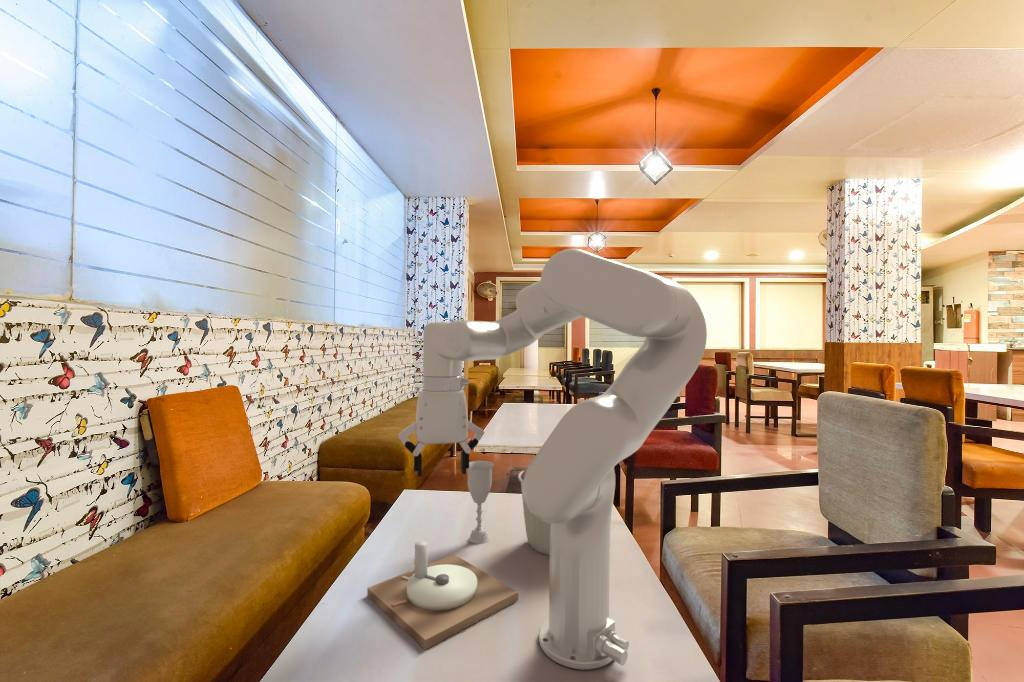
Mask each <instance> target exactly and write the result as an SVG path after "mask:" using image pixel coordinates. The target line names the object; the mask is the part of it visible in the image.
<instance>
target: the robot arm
mask: <svg viewBox="0 0 1024 682" xmlns="http://www.w3.org/2000/svg"><path fill="white" fill-rule="evenodd" d="M515 307H516V310H514V311H513V312H511V313H509V314H508V315H505V316H504V317H501V318H499V319H496V320H495V321H494V320H493V321H483V320H466V319H465V320H461V319H460V320H455V321H451V322H443V321H442V322H428V323H426V324H425V326H424V328H423V336H422V337H423V341H422V343H423V344H422V345H423V347H422V348H423V349H422V350H423V351H422V353H423V354H422V355H423V358H422V359H423V360H422V364H423V365H422V367H423V368H422V391H418V392H419V393H418V397H417V402H416V412H415V413H416V414H415V416H416V417H415V421H414V422H413V423H412V424H409V426H407V427H406V428H404V429H403V430H402V431H400V432H399V433H398V434H397V437H398V439H399V440H400V441H401V443H402V444H403V445H404V448H406V449H407V450H408V452H409V453H411V454H412V455H413V472H417V477H419V478H420V477H423V476H422V475H423V474H422V473H423V472H422V471H423V470H422V469H423V468H422V467H423V464H422V463H423V462H422V461H423V457H422V455H423V454H422V453H421V452H422V450H423V449H424V447H425V446H426V445H436V444H437V445H439V444H440V445H442V444H443V445H444V444H459V445H460V446H461V448H462V449H461V451H460V471H461V473H462V474H463V475H467V470H468V468H469V462H470V454H471V452H472V450H474V449H475V447H477V445H478V444H479V442H480V441H481V439H482V438H483V436H484V435H485V431H484V430H483V429H482V428H481V427H479V426H477V425H476V424H475V423H473V422H471V421H470V420H469V419H468V417H469V415H468V405H467V397H466V392H465V390H462V389H463V388H464V387H465V386H470V385H469V384H470V380H469V378H465V377H463V375H462V372H463V371H462V367H463V366H462V365H463V364H462V362H474V361H487V360H489V361H490V360H497V359H501V358H504V357H507V356H510V355H511V354H514V353H516V352H518V351H521V350H523V349H525V348H526V347H529V346H530V345H532V344H533V343H535V342H536V341H537V340H539V339H540V338H541V337H542V336H543V335H544V334H546V333H549V332H551V331H553V330H555V329H557V328H560V327H562V326H565V325H567V324H569V323H571V322H573V321H575V320H578V319H580V318H583V317H584V318H585V319H588V320H591V321H593V322H596V323H599V324H601V325H603V326H606V327H608V328H610V329H613V330H616V331H617V332H621V333H623V334H624V335H629V336H633V337H638V338H645V340H644V342H643V344H642V345H641V346H640V347H639V349H638V350H637V351H636V352H635V354H633V356H632V357H631V358H630V359H629V360H628V361H627V363H626V364H625V365H624V367H623V368H622V370H620V371H621V372H620V373H619V374H618V376H617V377H616V378H615V380H614V381H613V382H612V383H611V385H610V386H609V387H608V388H607V390H606V391H605V392H603V393H602V394H600V395H598V396H594V397H590V398H586V399H584V400H582V401H579V402H578V403H576V404H575V405H573V406H572V407H571V408H570V409H569V410H568V411H567V412H566V413H565V414H564V415H563V416H562V417H561V419H560V420H559V421H558V422H557V425H556V426H555V427H554V429H553V430H552V432H551V433H550V434H549V435H548V437H547V439H546V440H545V441H544V443H543V445H542V446H541V447H540V448H539V450H538V451H537V453H536V455H535V456H534V457H533V459H532V460H531V462H530V463H529V465H528V467H527V468H528V469H527V471H526V473H525V476H524V480H523V497H524V501H525V503H526V506H527V508H528V509H529V511H530V512H531V513H532V514H533V515H534V516H535V517H536V518H537V519H539V520H541V521H543V522H546V523H549V524H551V527H550V555H549V572H548V573H549V575H548V576H549V579H548V580H549V582H548V583H549V585H548V586H549V587H548V590H549V592H548V594H549V595H548V618H547V619H545V621H544V622H543V623H542V624H541V626H540V628H539V632H538V642H539V646H540V648H541V650H542V651H543V652H544V654H545V655H546V656H547V657H549V658H550V659H551V660H552V661H554V662H555V663H558V664H560V665H562V666H564V667H566V668H567V667H568V668H571V669H574V670H575V669H577V670H595V669H598V668H601V667H604V666H606V665H608V664H610V663H611V662H612V661H614V662H615V663H617V664H619V665H621V666H624V665H625V664H626V663H627V661H628V656H629V655H628V649H629V645H630V643H629V641H628V640H627V639H625V638H623V637H621V636H619V635H618V634H617V631H615V630H616V621H615V620H614V619H612V618H610V570H611V569H610V566H611V565H610V563H611V562H610V558H611V554H610V553H611V552H610V550H611V524H612V513H613V506H614V505H613V504H614V499H615V498H614V497H615V490H616V473H615V466H617V465H618V464H619V463H620V462H622V461H623V460H625V459H627V458H628V457H631V456H632V455H633V454H634V453H635V452H637V451H638V450H639V449H640V448H641V447H642V446H643V445H644V443H645V441H646V440H647V438H648V437H649V435H650V434H651V433H652V431H653V430H654V429H655V427H657V425H658V423H659V422H660V421H661V419H662V418H663V417H664V416H665V415H666V413H667V412H668V410H669V409H670V408H671V406H672V405H673V403H674V402H675V400H676V399H677V398H678V396H679V395H680V393H682V391H683V389H685V387H686V386H687V384H688V383H689V381H690V380H691V378H692V377H693V376H694V374H695V372H696V371H697V369H698V367H699V365H700V363H701V361H702V360H703V357H704V354H705V350H706V345H707V336H708V332H707V323H706V319H705V316H704V313H703V311H702V308H701V306H700V304H699V303H698V301H697V300H696V298H695V297H694V295H692V293H691V292H690V291H689V290H688V289H686V288H685V287H684V286H683V285H682V284H680V283H678V282H676V281H673V280H672V279H668V278H665V277H662V276H660V275H657V274H655V273H653V272H649V271H647V270H642V269H639V268H635V267H634V266H633V267H632V266H630V265H627V264H624V263H621V262H618V261H614V260H611V259H607V258H605V257H602V256H599V255H597V254H595V253H591V252H589V251H586V250H584V249H580V248H566V249H562V250H561V251H558V252H556V253H555V254H554V255H552V256H551V257H550V258H549V259H548V260H547V261H546V263H545V265H544V266H543V268H542V271H541V277H540V280H538V281H536V282H533V283H532V284H530V285H528V286H526V287H524V288H522V289H521V290H519V292H518V293H517V296H516V299H515ZM469 430H470V431H472V432H473V433H474V435H473V437H472V438H471V439H470V440H469V441H468V442H467V440H468V437H469ZM412 433H415V437H416V441H417V442H416V443H415V444H414V443H413V442H412V441H411V440H410V439H409V438H408V436H409V435H411V434H412Z"/></svg>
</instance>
